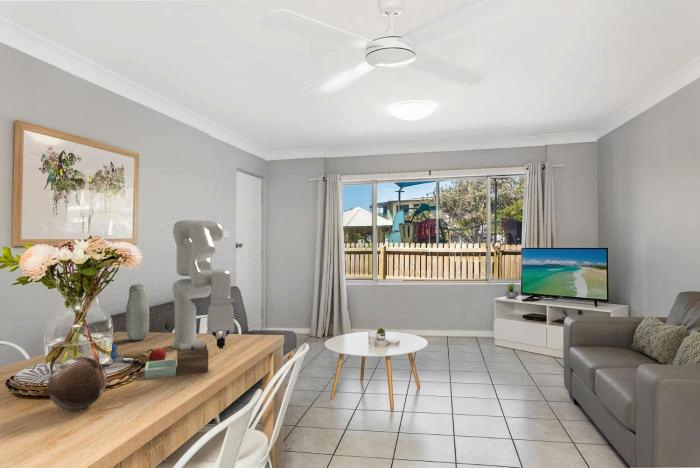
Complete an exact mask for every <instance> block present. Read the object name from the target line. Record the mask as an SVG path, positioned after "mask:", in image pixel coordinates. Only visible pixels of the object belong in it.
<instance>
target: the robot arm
mask: <svg viewBox="0 0 700 468" xmlns="http://www.w3.org/2000/svg"><path fill="white" fill-rule="evenodd" d="M172 235H173V239H174V241H175V245H176V273H177V274H178V275H179V276H181V277H189V278H181V279H177V280H175V281H174V282H173V284H172V294H173V301H174V342H172V343H171V344H170V346H171V348H172V349H177V346H180V343H189V342H191V345H193V342H200V341H198V340H197V306H196V304H195V303H194V302H193V301H192V299H202V298H207V297H209V296H210V305H208V309H207V319H206V321H207V323H206V326H207V330H206V334H207V335H211V336H214V338H216V347H218V349H219V350H221V349H222V350H223V349H224V347H225V346H226V339H227V337H228V336H229V334H232V333H233V334H234V333H235V331H236V330H235V313H234V307H233V304H232V303H234V302H235V298H232V296H231V294H232V293H231V292H232V291H231V289H232V288H231V285H232V282H231V272H230V271H228V270H225V269H221V268H219V269H212V268H213V267H212V260H211V257H212V256H214V255H215V253H216V247H215V243H214V242H219V241H221V240H222V239H223V236H224V230H223V227H222V225H221V224H220V223H219V222H216V221H211V220H197V219H196V220H195V219H193V220H192V219H189V220H188V219H186V220H185V219H184V220H178V221H176V222H175V223H174V224H173V228H172ZM220 332H222V334H221V336H220Z"/></svg>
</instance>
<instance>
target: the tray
mask: <svg viewBox="0 0 700 468" xmlns="http://www.w3.org/2000/svg"><path fill="white" fill-rule="evenodd" d="M173 376H177V358H175V359H174V358H173V359H165V360H161V361H151V360H150V362H147V363H146V365H145V368H144V379H146V380H147V379H153V378H154V379H155V378H163V377H173Z"/></svg>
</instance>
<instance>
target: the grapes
mask: <svg viewBox="0 0 700 468" xmlns="http://www.w3.org/2000/svg"><path fill="white" fill-rule="evenodd" d="M111 344H112V351H111V358H112V359H113V360H115V359H117V358H118V356H119V355H118V353H117V349H118V346H117V344H116V343H113V342H112V343H111Z"/></svg>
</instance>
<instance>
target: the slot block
mask: <svg viewBox="0 0 700 468" xmlns="http://www.w3.org/2000/svg"><path fill="white" fill-rule="evenodd" d="M207 347H208V345H207V343H205V349H202V350H193V345H191V351H180V346H177V348H176V376H182V375H190V374H191V375H192V374H200V373H209V349H208V348H207Z"/></svg>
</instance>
